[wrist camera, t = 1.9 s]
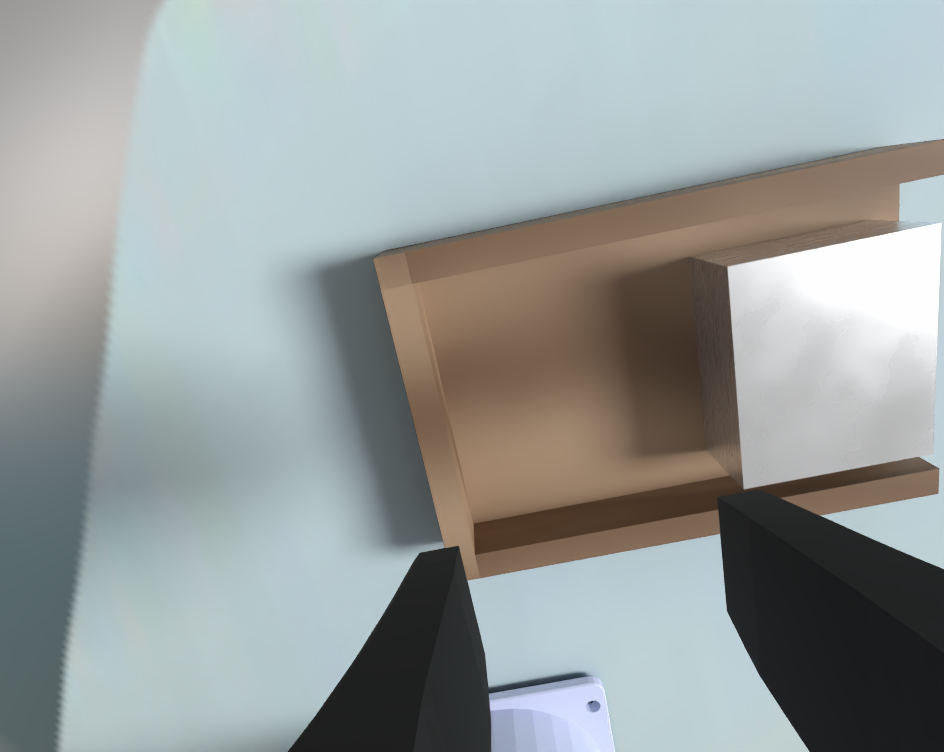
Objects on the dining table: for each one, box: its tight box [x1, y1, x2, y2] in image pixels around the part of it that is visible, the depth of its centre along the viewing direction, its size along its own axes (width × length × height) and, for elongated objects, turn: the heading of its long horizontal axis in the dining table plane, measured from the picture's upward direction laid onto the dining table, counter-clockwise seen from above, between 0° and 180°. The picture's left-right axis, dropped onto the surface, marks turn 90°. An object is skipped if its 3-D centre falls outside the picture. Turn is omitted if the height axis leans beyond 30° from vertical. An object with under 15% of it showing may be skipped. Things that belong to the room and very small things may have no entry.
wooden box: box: [373, 139, 944, 580], centre depth 17 cm, size 10×14×2 cm
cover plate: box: [688, 220, 941, 489], centre depth 16 cm, size 6×5×2 cm
